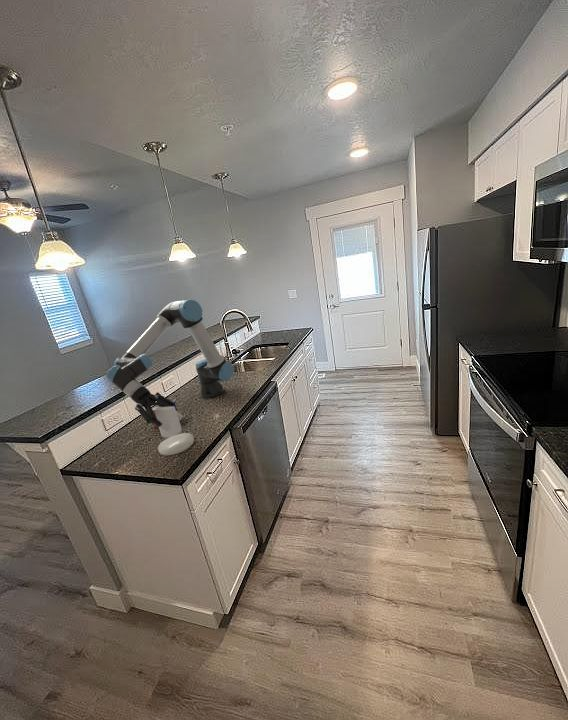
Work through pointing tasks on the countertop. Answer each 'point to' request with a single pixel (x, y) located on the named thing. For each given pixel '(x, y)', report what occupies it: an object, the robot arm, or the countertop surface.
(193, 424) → the countertop surface
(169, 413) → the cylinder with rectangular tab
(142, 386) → the robot arm
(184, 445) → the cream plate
